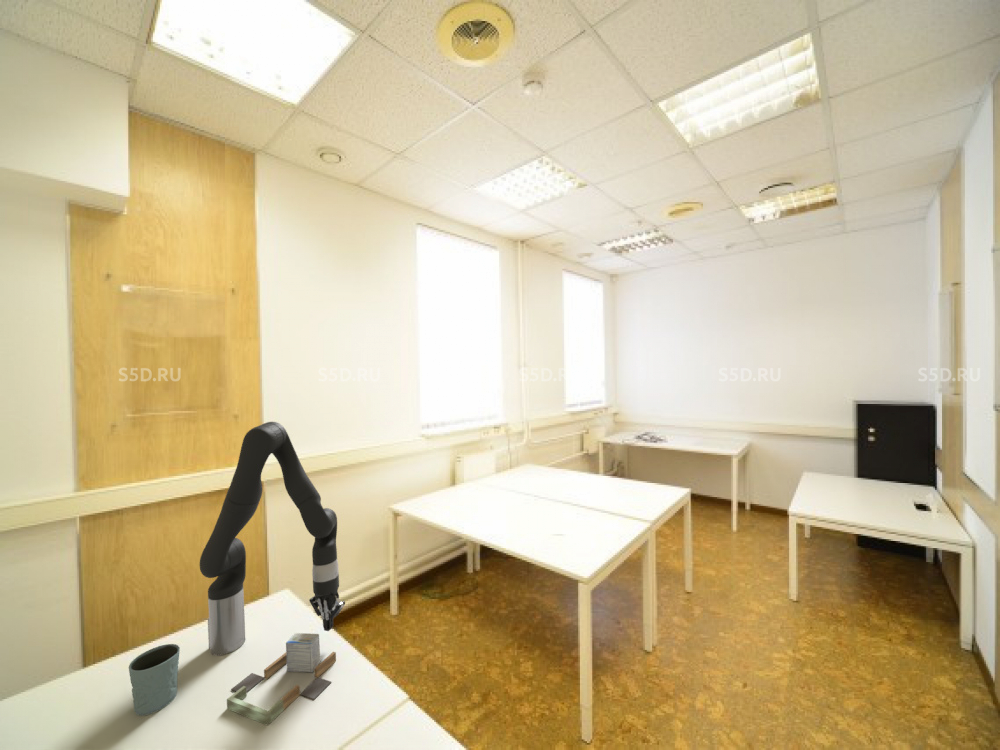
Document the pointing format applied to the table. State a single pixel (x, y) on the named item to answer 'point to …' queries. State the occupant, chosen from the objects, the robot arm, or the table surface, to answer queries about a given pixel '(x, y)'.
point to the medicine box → (303, 652)
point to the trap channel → (268, 716)
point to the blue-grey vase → (154, 678)
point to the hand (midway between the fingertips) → (328, 629)
